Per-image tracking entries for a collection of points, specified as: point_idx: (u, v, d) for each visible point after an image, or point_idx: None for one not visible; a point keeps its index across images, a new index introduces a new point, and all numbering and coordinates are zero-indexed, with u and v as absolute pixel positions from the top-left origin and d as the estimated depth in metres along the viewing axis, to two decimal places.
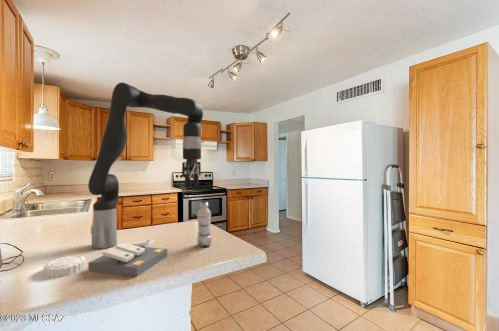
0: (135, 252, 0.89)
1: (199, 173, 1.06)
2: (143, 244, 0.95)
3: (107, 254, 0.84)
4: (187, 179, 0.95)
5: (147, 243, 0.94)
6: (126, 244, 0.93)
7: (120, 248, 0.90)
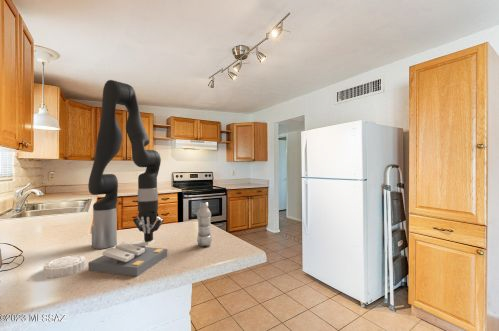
0: (135, 252, 0.89)
1: None
2: (143, 244, 0.95)
3: (107, 254, 0.84)
4: (152, 233, 0.96)
5: (147, 243, 0.94)
6: (126, 244, 0.93)
7: (120, 248, 0.90)
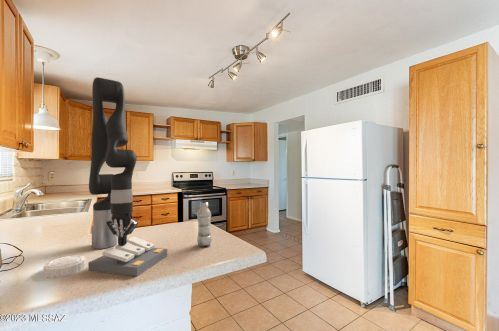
0: (135, 252, 0.89)
1: None
2: (143, 247, 0.95)
3: (107, 254, 0.84)
4: (125, 237, 0.92)
5: (147, 248, 0.94)
6: (126, 244, 0.93)
7: (120, 248, 0.90)
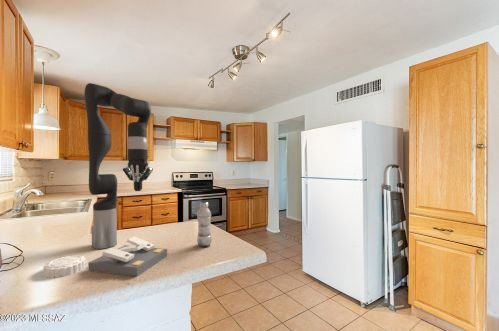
0: (135, 248, 0.89)
1: None
2: (143, 247, 0.95)
3: (107, 254, 0.84)
4: (141, 182, 0.97)
5: (147, 248, 0.94)
6: (126, 247, 0.93)
7: None
